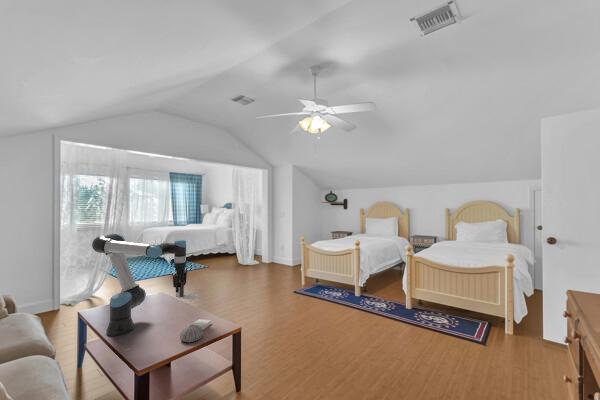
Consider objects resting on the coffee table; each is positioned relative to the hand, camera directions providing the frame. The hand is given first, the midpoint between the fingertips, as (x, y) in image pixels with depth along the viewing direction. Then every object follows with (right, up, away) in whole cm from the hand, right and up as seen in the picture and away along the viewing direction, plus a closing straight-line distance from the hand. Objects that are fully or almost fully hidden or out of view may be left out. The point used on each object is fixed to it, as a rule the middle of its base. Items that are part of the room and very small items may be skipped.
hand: (179, 295), depth 193 cm
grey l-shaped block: (+5, -1, -1) cm, 6 cm away
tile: (+13, -17, -7) cm, 22 cm away
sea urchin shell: (+18, -18, -25) cm, 36 cm away
